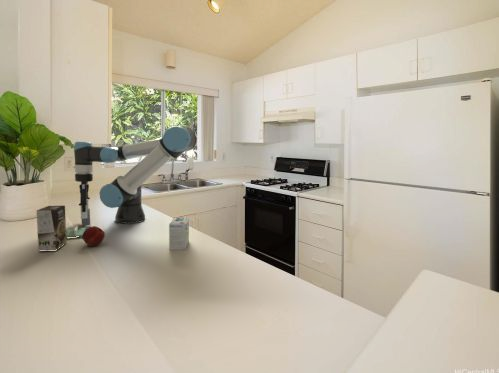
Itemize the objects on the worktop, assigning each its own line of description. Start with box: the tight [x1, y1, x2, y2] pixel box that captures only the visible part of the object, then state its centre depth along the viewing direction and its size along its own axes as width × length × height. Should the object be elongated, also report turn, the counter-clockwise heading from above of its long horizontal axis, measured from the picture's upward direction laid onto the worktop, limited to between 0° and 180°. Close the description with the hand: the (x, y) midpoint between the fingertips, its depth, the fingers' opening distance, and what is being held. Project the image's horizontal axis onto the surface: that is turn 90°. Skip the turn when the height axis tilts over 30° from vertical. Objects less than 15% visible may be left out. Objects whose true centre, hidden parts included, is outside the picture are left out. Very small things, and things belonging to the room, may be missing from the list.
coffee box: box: [35, 205, 68, 251], centre depth 108 cm, size 9×6×16 cm
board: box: [66, 224, 92, 239], centre depth 126 cm, size 16×12×3 cm
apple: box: [81, 225, 106, 247], centre depth 112 cm, size 7×8×8 cm
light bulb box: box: [168, 217, 190, 251], centre depth 116 cm, size 11×7×11 cm, turn 5°
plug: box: [81, 208, 91, 227], centre depth 141 cm, size 4×4×9 cm
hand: (84, 215), depth 141 cm, fingers open, 13 cm apart
